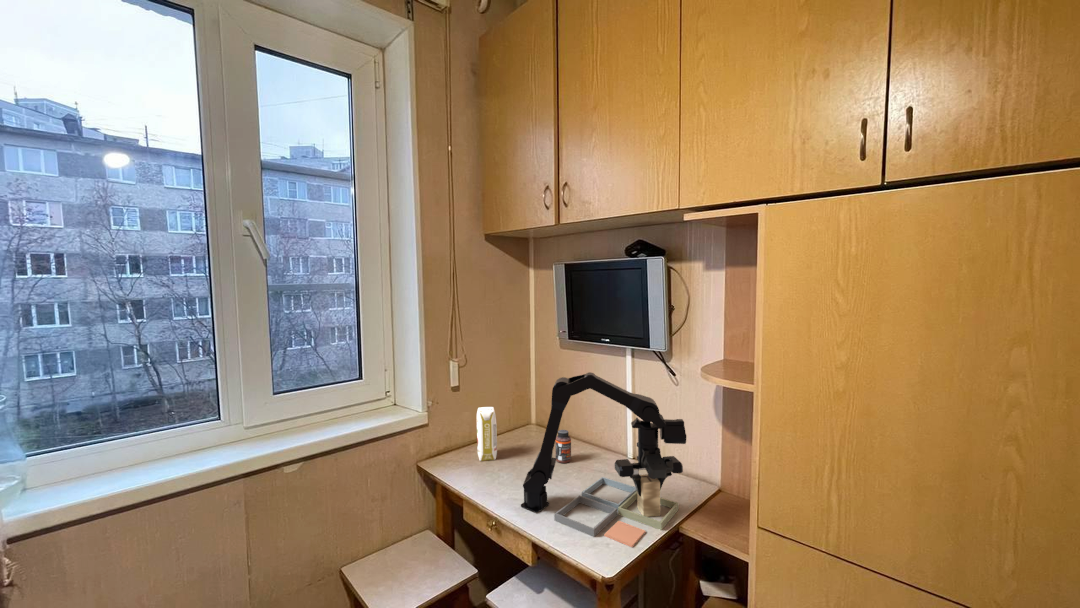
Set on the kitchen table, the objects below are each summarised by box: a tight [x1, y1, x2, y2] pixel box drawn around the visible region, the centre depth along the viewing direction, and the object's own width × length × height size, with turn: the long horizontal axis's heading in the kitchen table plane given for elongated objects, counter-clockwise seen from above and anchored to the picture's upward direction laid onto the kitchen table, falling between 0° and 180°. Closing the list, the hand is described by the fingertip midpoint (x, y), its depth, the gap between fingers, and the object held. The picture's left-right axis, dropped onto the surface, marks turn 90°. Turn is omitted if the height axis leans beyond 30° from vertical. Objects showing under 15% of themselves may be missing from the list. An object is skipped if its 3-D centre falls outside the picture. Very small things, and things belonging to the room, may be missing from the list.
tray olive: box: [617, 491, 680, 531], centre depth 122 cm, size 13×13×2 cm
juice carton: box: [476, 406, 498, 462], centre depth 163 cm, size 8×9×19 cm
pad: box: [604, 520, 646, 548], centre depth 111 cm, size 8×8×1 cm
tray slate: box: [581, 476, 637, 512], centre depth 131 cm, size 13×13×2 cm
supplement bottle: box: [555, 429, 572, 464], centre depth 159 cm, size 6×6×11 cm
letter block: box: [636, 473, 661, 518], centre depth 121 cm, size 5×5×10 cm
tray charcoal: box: [553, 494, 618, 538], centre depth 119 cm, size 13×13×2 cm
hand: (648, 494), depth 121 cm, fingers closed on letter block, 5 cm apart
